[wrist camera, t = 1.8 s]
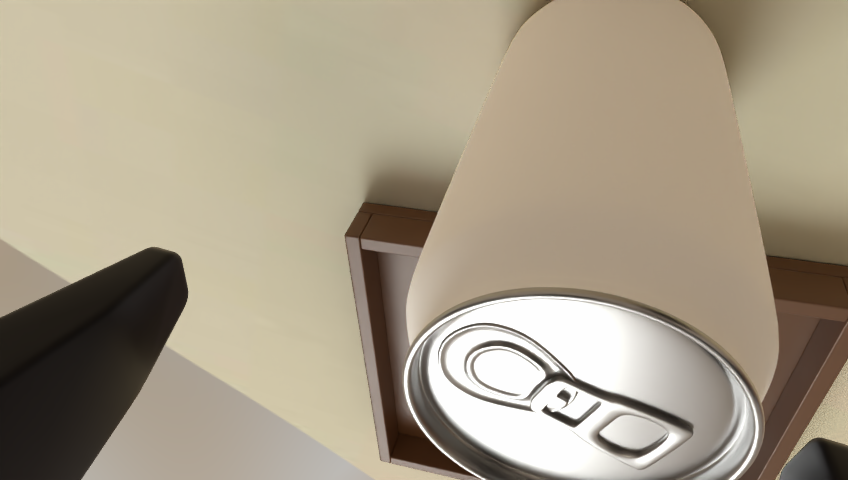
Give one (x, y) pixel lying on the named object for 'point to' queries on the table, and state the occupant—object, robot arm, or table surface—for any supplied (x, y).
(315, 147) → the table surface
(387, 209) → the tray
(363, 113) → the table surface
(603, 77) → the can
